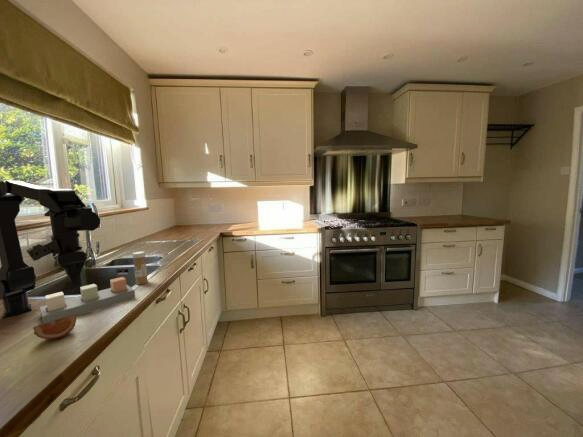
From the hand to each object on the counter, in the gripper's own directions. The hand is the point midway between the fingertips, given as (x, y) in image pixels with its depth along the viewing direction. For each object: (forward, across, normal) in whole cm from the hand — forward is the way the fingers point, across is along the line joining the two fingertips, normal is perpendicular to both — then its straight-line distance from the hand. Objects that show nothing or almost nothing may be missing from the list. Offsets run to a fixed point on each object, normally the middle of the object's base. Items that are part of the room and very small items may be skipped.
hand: (72, 280), depth 77 cm
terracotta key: (+10, -6, +13) cm, 17 cm away
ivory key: (+10, -6, -4) cm, 12 cm away
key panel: (+12, -6, +4) cm, 14 cm away
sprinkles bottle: (+12, -16, +23) cm, 31 cm away
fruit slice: (+12, +10, -5) cm, 17 cm away
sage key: (+10, -6, +4) cm, 12 cm away
